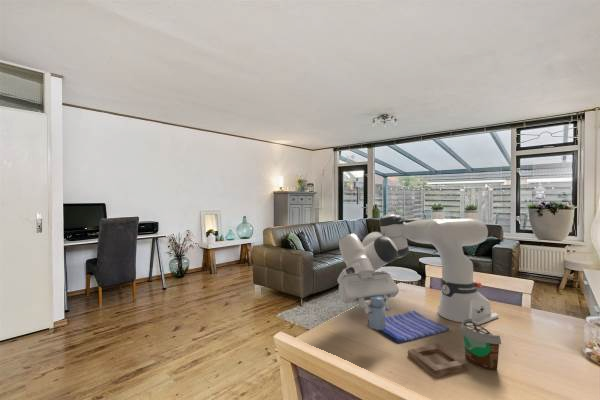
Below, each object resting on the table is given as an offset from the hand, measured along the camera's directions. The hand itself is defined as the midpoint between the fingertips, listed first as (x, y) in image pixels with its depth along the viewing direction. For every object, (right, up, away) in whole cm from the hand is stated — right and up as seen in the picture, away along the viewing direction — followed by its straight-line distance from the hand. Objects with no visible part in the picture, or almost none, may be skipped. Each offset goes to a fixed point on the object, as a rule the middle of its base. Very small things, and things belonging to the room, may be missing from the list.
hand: (378, 311), depth 91 cm
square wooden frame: (+15, -12, -8) cm, 20 cm away
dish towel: (+15, -12, +15) cm, 25 cm away
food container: (+26, -12, -7) cm, 30 cm away
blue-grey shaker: (0, -5, +1) cm, 5 cm away
